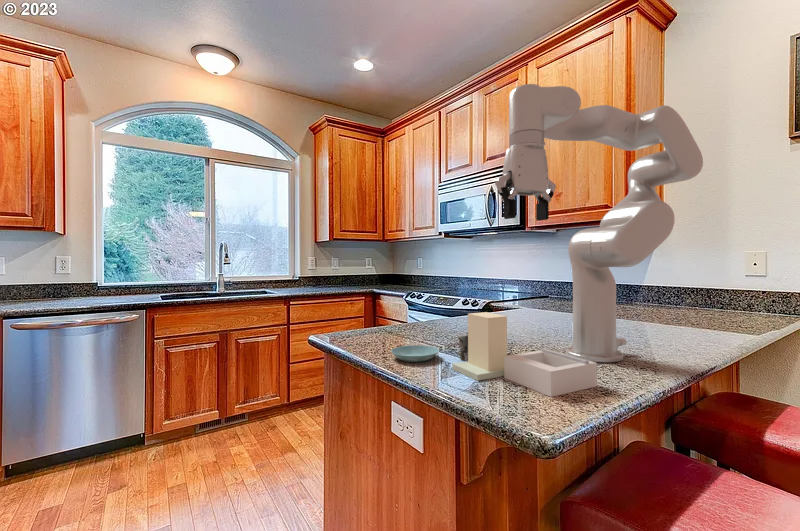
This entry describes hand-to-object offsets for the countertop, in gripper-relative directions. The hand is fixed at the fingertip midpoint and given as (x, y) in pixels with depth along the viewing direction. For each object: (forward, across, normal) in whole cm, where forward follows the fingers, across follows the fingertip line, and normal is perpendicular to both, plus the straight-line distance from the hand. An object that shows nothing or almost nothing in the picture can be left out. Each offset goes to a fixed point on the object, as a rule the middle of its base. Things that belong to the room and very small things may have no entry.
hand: (526, 219), depth 86 cm
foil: (+34, +5, -10) cm, 36 cm away
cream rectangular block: (+32, +11, 0) cm, 34 cm away
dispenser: (+33, +5, +11) cm, 35 cm away
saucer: (+34, +20, -17) cm, 43 cm away
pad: (+33, +11, 0) cm, 35 cm away
